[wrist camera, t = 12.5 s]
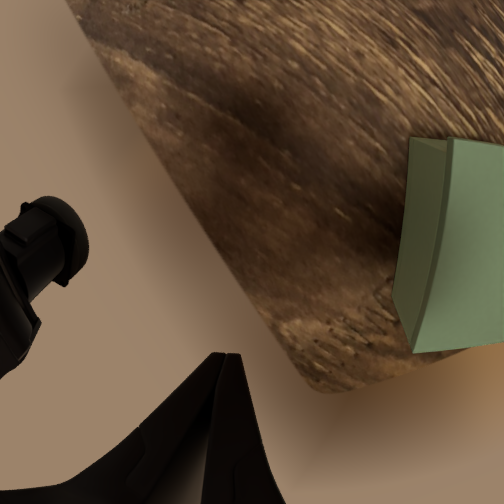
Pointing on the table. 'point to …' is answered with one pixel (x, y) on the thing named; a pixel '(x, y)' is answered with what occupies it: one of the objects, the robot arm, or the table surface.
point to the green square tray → (418, 227)
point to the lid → (466, 253)
